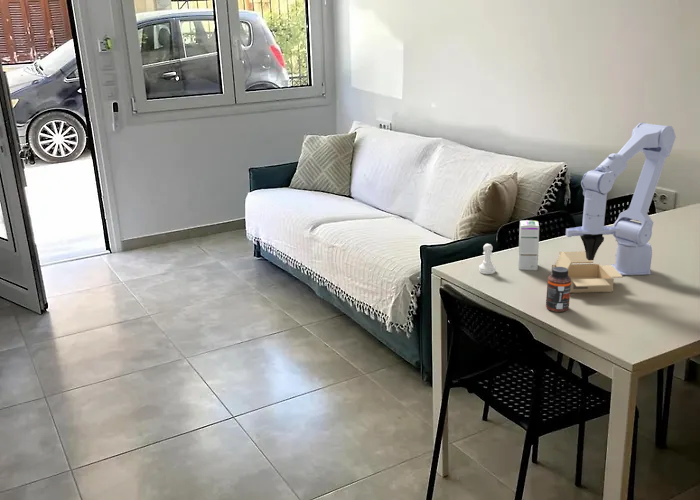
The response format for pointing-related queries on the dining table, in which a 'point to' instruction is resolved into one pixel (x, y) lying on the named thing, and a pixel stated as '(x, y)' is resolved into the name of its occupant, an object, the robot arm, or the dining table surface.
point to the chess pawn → (487, 261)
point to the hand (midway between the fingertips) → (589, 259)
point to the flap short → (578, 257)
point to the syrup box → (528, 245)
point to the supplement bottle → (558, 290)
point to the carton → (591, 277)
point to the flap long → (563, 261)
